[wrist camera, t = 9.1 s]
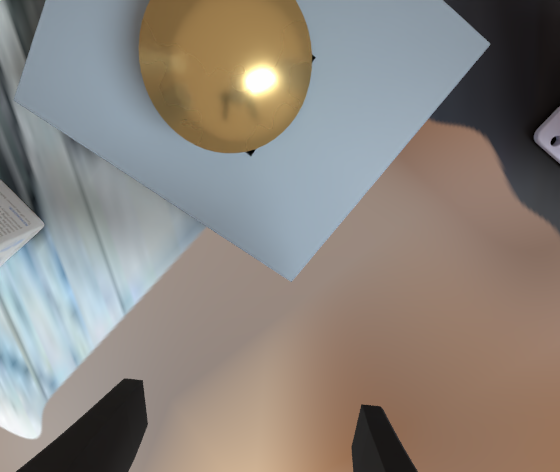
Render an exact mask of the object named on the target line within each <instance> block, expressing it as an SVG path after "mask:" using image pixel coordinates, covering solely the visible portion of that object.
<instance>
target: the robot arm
mask: <svg viewBox="0 0 560 472" xmlns="http://www.w3.org/2000/svg"><path fill="white" fill-rule="evenodd" d="M553 137H556V142H555V143H554V144H553V145H551V144H550V143H551V140H552V138H553ZM534 141H535V142H536V143H537V144H538V145H539V146H540V147H541V148H542V149H544V150H545V151H546V152H547V153H548V154H549V155H550V156H552V157H553V158H554V159H555V160H556V161H557V162H558V163H560V106H559V107H558V108H557V109H556V110H555V111H554V112H553V113H552V114H551V115H550V116H549V117H548V118H547V120H546V121H545V122H544V123H543V124H542V125H541V126H540V127H539V128H538V129H537V130H536V131H535V134H534ZM147 425H148V423H147V413H146V405H145V397H144V388H143V380H135V379H123V380H122V381H121V382H120V383H119V384H117V386H115V387H114V388H113V389H112V390H111V391H110V392H109V393H108V394H106V395H105V396H104V397H103V398H102V399H101V400H100V401H99V402H98V403H97V404H95V405H94V406H93V407H92V408H91V409H90V410H89V411H88V412H87V413H85V414H84V415H83V416H82V417H81V418H80V419H79V420H77V421H76V422H75V423H74V424H73V425H72V426H71V427H69V428H68V429H67V430H66V431H65V432H64V433H62V434H61V435H60V436H59V437H58V438H57V439H56V440H54V441H53V442H52V443H51V444H50V445H48V446H47V447H46V448H45V449H43V450H42V451H41V452H40V453H38V454H37V455H36V456H35V457H34V458H32V459H31V460H30V461H29V462H27V463H26V464H25V465H24V466H23V467H21V468H20V469H19V470H17V471H16V472H128V471H129V469H130V467H131V465H132V462H133V460H134V458H135V456H136V453H137V451H138V448H139V446H140V444H141V441H142V438H143V436H144V433H145V430H146V428H147ZM352 460H353V472H418V471H417V469H416V468H415V466H414V464H413V463H412V461H411V459H410V458H409V456H408V454H407V453H406V451H405V449H404V447H403V446H402V444H401V442H400V440H399V438H398V437H397V435H396V433H395V431H394V429H393V427H392V426H391V424H390V422H389V420H388V418H387V416H386V414H385V412H384V410H383V409H382V408H381V407H380V406H371V405H361V409H360V413H359V418H358V422H357V426H356V430H355V435H354V439H353V443H352Z"/></svg>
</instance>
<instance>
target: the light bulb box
mask: <svg viewBox="0 0 560 472" xmlns="http://www.w3.org/2000/svg"><path fill="white" fill-rule="evenodd" d="M43 227H44V223H43V221H42V220H41V219H40V218H39V217H38V216H37V215H36V214H35V213H34V212H33V211H32V210H31V209H30V208H29V207H28V206H27V205H26V204H25V203H24V202H23V201H22V200H21V199H20V198H19V197H18V196H17V195H16V194H15V193H14V192H13V191H12V190H11V189H10V188H9V187H8V186H7V185H6V184H5V183H4V182H3V181H2V180H1V179H0V266H2V265H3V264H4V263H5V262H6V261H7V260H8V259H9V258H10V257H12V256H13V255H14V254H15V253H16V252H17V251H18V250H19V249H20V248H22V247H23V246H24V245H25V244H26V243H27V242H28V241H29V240H30V239H31V238H32V237H34V236H35V235H36V234H37V233H38V232H39V231H40V230H41V229H42V228H43Z"/></svg>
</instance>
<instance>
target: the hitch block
mask: <svg viewBox="0 0 560 472" xmlns="http://www.w3.org/2000/svg"><path fill="white" fill-rule="evenodd" d="M149 1H150V0H46V1H45V4H44V7H43V11H42V14H41V17H40V20H39V23H38V26H37V29H36V32H35V35H34V38H33V41H32V44H31V48H30V51H29V54H28V57H27V60H26V63H25V66H24V69H23V72H22V75H21V78H20V82H19V85H18V88H17V91H16V94H15V97H14V101H15V102H17V103H18V104H20V105H21V106H23V107H24V108H26V109H28V110H29V111H31V112H32V113H34V114H35V115H37V116H38V117H40V118H41V119H43V120H44V121H46V122H47V123H49V124H50V125H52V126H54V127H55V128H57V129H58V130H60V131H61V132H63V133H64V134H66V135H67V136H69V137H70V138H72V139H73V140H75V141H77V142H78V143H80V144H81V145H83V146H84V147H86V148H87V149H89V150H90V151H92V152H93V153H95V154H96V155H98V156H99V157H101V158H103V159H104V160H106V161H107V162H109V163H110V164H112V165H113V166H115V167H116V168H118V169H119V170H121V171H122V172H124V173H125V174H127V175H129V176H130V177H132V178H133V179H135V180H136V181H138V182H139V183H141V184H142V185H144V186H145V187H147V188H148V189H150V190H151V191H153V192H155V193H156V194H158V195H159V196H161V197H162V198H164V199H165V200H167V201H168V202H170V203H171V204H173V205H174V206H176V207H178V208H179V209H181V210H182V211H184V212H185V213H187V214H188V215H190V216H191V217H193V218H194V219H196V220H197V221H199V222H200V223H202V224H204V225H205V226H207V227H208V228H210V229H211V230H213V231H214V232H216V233H217V234H219V235H220V236H222V237H223V238H225V239H227V240H228V241H230V242H231V243H233V244H234V245H236V246H237V247H239V248H240V249H242V250H243V251H245V252H246V253H248V254H249V255H251V256H253V257H254V258H256V259H257V260H259V261H260V262H262V263H263V264H265V265H266V266H268V267H270V268H271V269H272V270H274V271H276V272H277V273H279V274H280V275H282V276H283V277H285V278H286V279H288V280H289V281H291V282H292V280H293V279H294V278H295V277H296V276H297V274H298V273H299V272H300V271H301V270H302V268H303V267H304V266H305V265H306V264H307V263H308V261H309V260H310V259H311V258H312V257H313V255H314V254H315V253H316V252H317V251H318V249H319V248H320V247H321V246H322V245H323V243H324V242H325V241H326V240H327V239H328V237H329V236H330V235H331V234H332V233H333V232H334V230H335V229H336V228H337V227H338V226H339V224H340V223H341V222H342V221H343V220H344V218H345V217H346V216H347V215H348V214H349V213H350V211H351V210H352V209H353V208H354V207H355V205H356V204H357V203H358V202H359V201H360V199H361V198H362V197H363V196H364V194H365V193H366V192H367V191H368V190H369V189H370V187H371V186H372V185H373V184H374V182H375V181H376V180H377V179H378V178H379V177H380V176H381V174H382V173H383V172H384V171H385V170H386V168H387V167H388V166H389V165H390V164H391V162H392V161H393V160H394V159H395V158H396V156H397V155H398V154H399V153H400V152H401V150H402V149H403V148H404V147H405V146H406V145H407V143H408V142H409V141H410V140H411V139H412V137H413V136H414V135H415V134H416V132H417V131H418V130H419V129H420V128H421V127H422V125H423V124H424V123H425V122H426V121H427V119H428V118H429V117H430V116H431V115H432V114H433V112H434V111H435V110H436V109H437V108H438V106H439V105H440V104H441V103H442V102H443V100H444V99H445V98H446V97H447V96H448V94H449V93H450V92H451V91H452V90H453V88H454V87H455V86H456V85H457V84H458V83H459V81H460V80H461V79H462V78H463V77H464V75H465V74H466V73H467V72H468V71H469V69H470V68H471V67H472V66H473V65H474V63H475V62H476V61H477V60H478V59H479V57H480V56H481V55H482V54H483V53H484V52H485V50H486V49H487V48H488V47H489V46H490V43H489V42H488V41H487V40H486V39H485V38H484V37H483V36H481V35H480V34H479V33H478V32H477V31H476V30H475V29H474V28H473V27H472V26H470V25H469V24H468V23H467V22H466V21H465V20H464V19H463V18H462V17H461V16H460V15H458V14H457V13H456V12H455V11H454V10H453V9H452V8H451V7H450V6H449V5H448V4H446V3H445V2H444V1H443V0H296V2H297V3H298V5H299V7H300V9H301V11H302V14H303V16H304V18H305V21H306V24H307V27H308V31H309V36H310V40H311V49H312V71H311V78H310V84H309V87H308V91H307V95H306V98H305V100H304V103H303V105H302V107H301V109H300V111H299V113H298V114H297V116H296V117H295V119H294V120H293V121H292V123H291V124H290V125H289V126H288V127H287V128H286V129H285V130H284V131H283V132H282V133H281V134H280V135H279V136H278V137H276V138H275V139H274V140H272V141H271V142H269V143H267V144H266V145H264V146H261V147H259V148H257V149H254V150H251V151H247V152H241V153H219V152H213V151H210V150H206V149H203V148H201V147H198V146H196V145H194V144H192V143H190V142H189V141H187V140H185V139H184V138H183V137H181V136H180V135H179V134H177V133H176V132H175V131H174V130H173V129H172V128H171V127H170V126H169V125H168V124H167V123H166V122H165V121H164V119H163V118H162V117H161V116H160V114H159V113H158V111H157V110H156V108H155V107H154V105H153V103H152V101H151V99H150V97H149V95H148V92H147V90H146V87H145V85H144V81H143V77H142V74H141V68H140V62H139V34H140V29H141V23H142V19H143V16H144V13H145V10H146V7H147V5H148V3H149Z"/></svg>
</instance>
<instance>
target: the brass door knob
mask: <svg viewBox="0 0 560 472" xmlns="http://www.w3.org/2000/svg"><path fill="white" fill-rule="evenodd" d="M139 62H140V68H141V74H142V77H143V81H144V85H145V87H146V90H147V92H148V95H149V97H150V99H151V101H152V103H153V105H154V107H155V108H156V110H157V111H158V113H159V114H160V116H161V117H162V118H163V119H164V121H165V122H166V123H167V124H168V125H169V126H170V127H171V128H172V129H173V130H174V131H175V132H176V133H177V134H179V135H180V136H181V137H183V138H184V139H185V140H187V141H189V142H190V143H192V144H194V145H196V146H198V147H201V148H203V149H206V150H210V151H213V152H219V153H241V152H247V151H251V150H254V149H257V148H259V147H261V146H264V145H266V144H267V143H269V142H271V141H272V140H274V139H275V138H276V137H278V136H279V135H280V134H281V133H282V132H283V131H284V130H285V129H286V128H287V127H288V126H289V125H290V124H291V123H292V121H293V120H294V119H295V117H296V116H297V114H298V113H299V111H300V109H301V107H302V105H303V103H304V100H305V98H306V95H307V91H308V87H309V84H310V78H311V71H312V49H311V40H310V36H309V31H308V27H307V24H306V21H305V18H304V16H303V14H302V11H301V9H300V7H299V5H298V3H297V2H296V0H150V1H149V3H148V5H147V7H146V10H145V13H144V16H143V19H142V23H141V29H140V34H139Z"/></svg>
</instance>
